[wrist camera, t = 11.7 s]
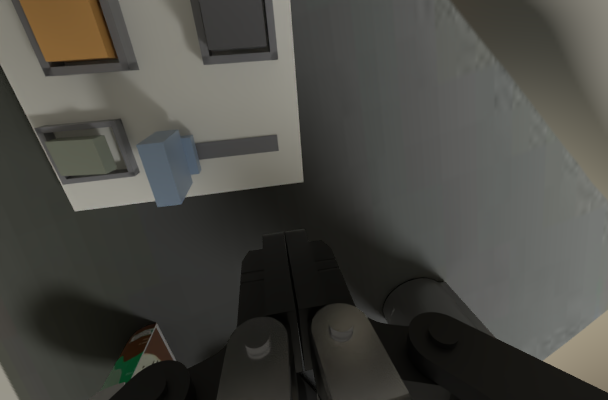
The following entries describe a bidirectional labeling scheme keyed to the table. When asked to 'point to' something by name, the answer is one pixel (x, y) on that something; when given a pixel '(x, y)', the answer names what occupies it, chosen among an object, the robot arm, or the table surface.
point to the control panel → (164, 98)
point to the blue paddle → (169, 165)
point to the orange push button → (70, 30)
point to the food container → (136, 359)
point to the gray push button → (233, 24)
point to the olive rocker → (81, 155)
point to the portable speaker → (305, 390)
